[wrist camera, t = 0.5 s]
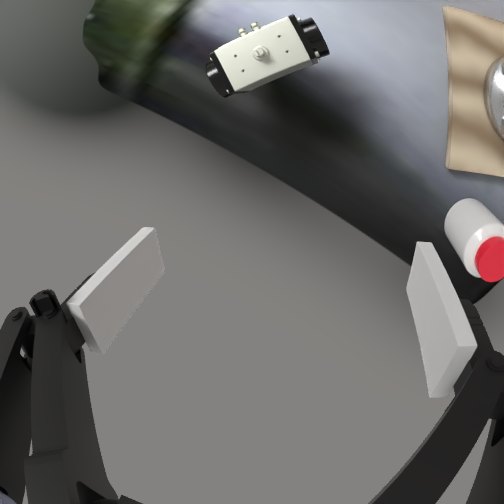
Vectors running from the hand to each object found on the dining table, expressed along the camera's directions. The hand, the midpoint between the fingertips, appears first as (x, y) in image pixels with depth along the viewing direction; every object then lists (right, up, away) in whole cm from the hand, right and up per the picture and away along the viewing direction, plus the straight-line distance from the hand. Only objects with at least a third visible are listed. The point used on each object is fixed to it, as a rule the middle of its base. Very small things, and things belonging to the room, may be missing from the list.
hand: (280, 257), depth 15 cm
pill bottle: (+30, +5, +22) cm, 37 cm away
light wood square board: (+34, +21, +11) cm, 41 cm away
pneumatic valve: (+2, +24, +18) cm, 30 cm away
